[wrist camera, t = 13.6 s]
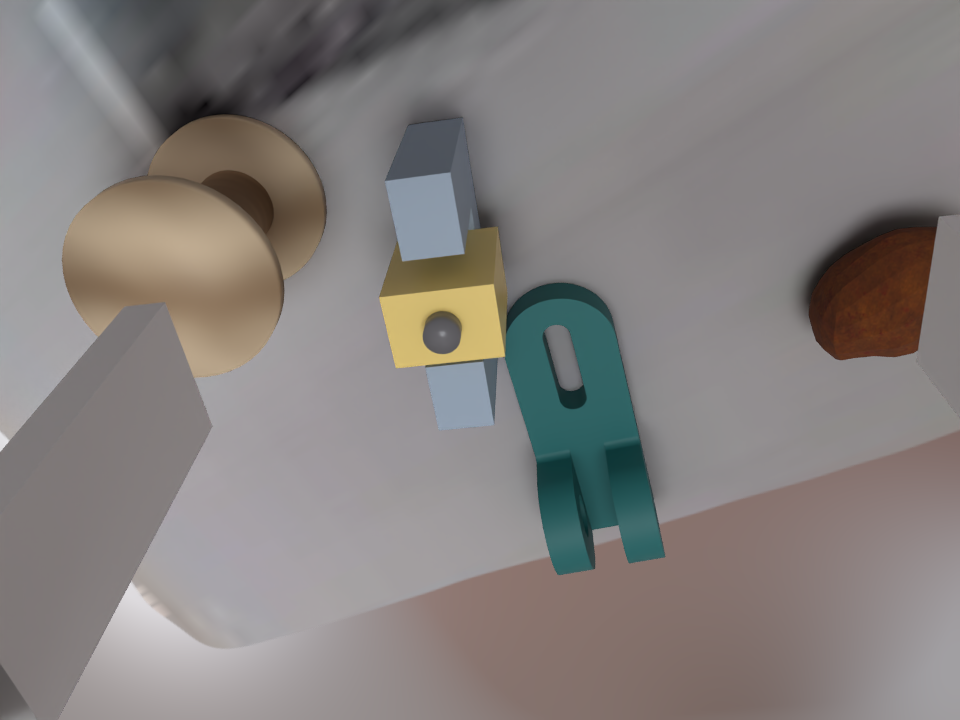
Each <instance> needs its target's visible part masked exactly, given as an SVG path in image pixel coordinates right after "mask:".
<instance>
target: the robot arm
mask: <svg viewBox="0 0 960 720" xmlns="http://www.w3.org/2000/svg"><path fill="white" fill-rule="evenodd" d="M916 362H917V363H918V364H919V365H920V367H921V368H922V369H923V371H924V372H925V373H926V375H927V376H928V377H929V379H930V380H931V381H932V382H933V384H934V385H935V386H936V388H937V389H938V390H939V392H940V393H941V394H942V396H943V397H944V398H945V399H946V401H947V402H948V403H949V405H950V406H951V407H952V409H953V410H954V411H955V413H956V414H957V415H958V416H959V418H960V214H958V215H949V216H940V217H939V219H938V225H937V231H936V238H935V244H934V251H933V257H932V263H931V270H930V276H929V283H928V289H927V295H926V302H925V308H924V315H923V321H922V327H921V334H920V340H919V347H918V353H917V359H916ZM211 428H212V424H211V421H210V419H209V416H208V413H207V411H206V408H205V406H204V403H203V400H202V398H201V395H200V392H199V390H198V387H197V385H196V382H195V379H194V377H193V374H192V371H191V369H190V366H189V364H188V361H187V358H186V356H185V353H184V350H183V348H182V345H181V343H180V340H179V337H178V335H177V332H176V329H175V327H174V324H173V322H172V319H171V316H170V314H169V311H168V308H167V306H166V303H165V302H161V303H152V304H143V305H134V306H125V307H124V308H123V309H122V310H121V311H120V312H119V314H118V315H117V316H116V317H115V318H114V319H113V321H112V322H111V323H110V324H109V325H108V326H107V328H106V329H105V330H104V331H103V332H102V333H101V335H100V336H99V337H98V338H97V339H96V341H95V342H94V343H93V344H92V345H91V346H90V348H89V349H88V350H87V351H86V352H85V353H84V355H83V356H82V357H81V358H80V359H79V360H78V362H77V363H76V364H75V365H74V366H73V367H72V369H71V370H70V371H69V372H68V373H67V375H66V376H65V377H64V378H63V379H62V380H61V382H60V383H59V384H58V385H57V386H56V387H55V389H54V390H53V391H52V392H51V393H50V394H49V396H48V397H47V398H46V399H45V400H44V401H43V403H42V404H41V405H40V406H39V407H38V408H37V410H36V411H35V412H34V413H33V414H32V416H31V417H30V418H29V419H28V420H27V421H26V423H25V424H24V425H23V426H22V427H21V428H20V430H19V431H18V432H17V433H16V434H15V435H14V437H13V438H12V439H11V440H10V441H9V443H8V444H7V445H6V446H5V447H4V448H3V450H2V451H1V452H0V720H58V718H59V717H60V715H61V713H62V711H63V709H64V707H65V705H66V703H67V702H68V699H69V698H70V696H71V694H72V692H73V690H74V688H75V686H76V684H77V682H78V680H79V679H80V677H81V675H82V673H83V671H84V669H85V667H86V665H87V664H88V662H89V660H90V658H91V656H92V654H93V652H94V650H95V648H96V646H97V645H98V643H99V641H100V639H101V637H102V635H103V633H104V631H105V629H106V627H107V626H108V624H109V622H110V620H111V618H112V616H113V614H114V612H115V610H116V609H117V607H118V605H119V603H120V601H121V599H122V597H123V595H124V593H125V591H126V590H127V588H128V586H129V584H130V582H131V580H132V578H133V576H134V574H135V572H136V571H137V569H138V567H139V565H140V563H141V561H142V559H143V557H144V555H145V554H146V552H147V550H148V548H149V546H150V544H151V542H152V540H153V538H154V536H155V535H156V533H157V531H158V529H159V527H160V525H161V523H162V521H163V519H164V517H165V516H166V514H167V512H168V510H169V508H170V506H171V504H172V502H173V500H174V499H175V497H176V495H177V493H178V491H179V489H180V487H181V485H182V483H183V481H184V480H185V478H186V476H187V474H188V472H189V470H190V468H191V466H192V464H193V462H194V461H195V459H196V457H197V455H198V453H199V451H200V449H201V447H202V445H203V443H204V442H205V440H206V438H207V436H208V434H209V432H210V430H211Z"/></svg>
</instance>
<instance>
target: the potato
mask: <svg viewBox="0 0 960 720" xmlns="http://www.w3.org/2000/svg"><path fill="white" fill-rule="evenodd" d="M936 231H937V227H912V228H903V229H896V230H893V231H891V232H888V233H886V234H883V235H880V236H878V237H876V238H874V239H872V240H870V241H868V242H867V243H865V244H863V245H861V246H859V247H858V248H856V249H854V250H852V251H851V252H849V253H847V254H845V255H844V256H843V257H841V258H840V259H839V260H838V261H836V262H835V263H834V264H833V265H831V266H830V268H829V269H828V270H827V271H826V273H825V274H824V275H823V276H822V278H821V279H820V281H819V282H818V284H817V286H816V287H815V289H814V291H813V292H812V297H811V302H810V306H809V318H810V322H811V326H812V329H813V333H814V336H815V339H816V341H817V342H818V343H819V344H820V346H821V347H822V348H823V349H824V350H825V351H826V352H828V353H829V354H830V355H831V356H833V357H834V358H835V359H838V360H846V359H852V358H858V357H868V356H884V357H897V356H902V355H907V354H911V353H914V352H916V351H918V347H919V340H920V334H921V327H922V321H923V315H924V308H925V302H926V295H927V289H928V283H929V276H930V270H931V263H932V257H933V251H934V244H935V238H936Z"/></svg>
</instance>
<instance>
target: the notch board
mask: <svg viewBox="0 0 960 720" xmlns="http://www.w3.org/2000/svg"><path fill="white" fill-rule="evenodd" d="M385 184H386V188H387V193H388V198H389V202H390V207H391V212H392V216H393V221H394V225H395V230H396V235H397V239H398V244H399V248H400V253H401V258H402V261H410V260H418V259H427V258H435V257H443V256H451V255H460V254H465V247H466V240H467V233H468V230H474V229H480V222H479V216H478V210H477V204H476V197H475V191H474V185H473V179H472V172H471V166H470V160H469V154H468V147H467V141H466V135H465V129H464V123H463V117H462V118H455V119H448V120H441V121H434V122H427V123H420V124H412V125H408V127H407V129H406V132H405V134H404V137H403V139H402V141H401V144H400V146H399V148H398V151H397V153H396V156H395V158H394V160H393V163H392V165H391V168H390V170H389V172H388V175H387V177H386V180H385ZM497 359H498V358H489V359H479V360H470V361H460V362H451V363H441V364H432V365H426V367H425V368H426V373H427V378H428V382H429V387H430V391H431V396H432V401H433V405H434V410H435V415H436V419H437V424H438V428H439V430H448V429H458V428H469V427H479V426H489V425H494V419H495V399H496V379H497Z"/></svg>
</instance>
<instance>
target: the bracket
mask: <svg viewBox="0 0 960 720" xmlns="http://www.w3.org/2000/svg"><path fill="white" fill-rule="evenodd" d="M552 325H562V326H564V327H566V328H567V329H568V330H569V332H570V334H571V338H572V342H573V345H574V349H575V353H576V357H577V361H578V365H579V369H580V372H581V376H582V380H583V386H582V387H581V388H580V389H578V390H576V391H567V390H564V389H563V388H561V387H560V385H559V383H558V379H557V375H556V372H555V368H554V365H553V361H552V358H551V354H550V350H549V347H548V343H547V340H546V336H545V332H544V331H545V330H546V329H547V328H548V327H549V326H552ZM505 360H506V364H507V367H508V370H509V373H510V376H511V380H512V383H513V386H514V389H515V392H516V396H517V399H518V402H519V405H520V408H521V412H522V415H523V418H524V421H525V424H526V428H527V431H528V434H529V437H530V441H531V444H532V447H533V450H534V453H535V457H536V461H537V487H538V498H539V506H540V513H541V519H542V524H543V529H544V534H545V538H546V543H547V547H548V550H549V554H550V557H551V560H552V563H553V566H554V568H555V571H556V572H557V574H558V575H563V574H569V573H574V572H581V571H587V570H592V569H595V553H594V543H593V533H592V530H594V529H599V528H605V527H611V526H616V525H619V529H620V533H621V538H622V542H623V545H624V549H625V553H626V556H627V560H628V562H629V563H634V562H640V561H646V560H652V559H658V558H663V557H665V553H664V548H663V542H662V538H661V533H660V528H659V523H658V518H657V513H656V508H655V503H654V498H653V494H652V489H651V485H650V481H649V476H648V472H647V468H646V463H645V459H644V455H643V450H642V446H641V441H640V437H639V433H638V428H637V424H636V420H635V415H634V411H633V406H632V402H631V398H630V393H629V389H628V385H627V380H626V376H625V371H624V367H623V363H622V358H621V354H620V350H619V345H618V341H617V337H616V332H615V328H614V323H613V319H612V316H611V313H610V311H609V309H608V307H607V306H606V304H605V303H604V302H603V301H602V300H601V299H600V298H599V297H598V296H597V295H596V294H594V293H593V292H591V291H590V290H588V289H586V288H584V287H581V286H578V285H574V284H568V283H553V284H547V285H543V286H540V287H537V288H535V289H533V290H531V291H529V292H527V293H526V294H524V295H523V296H522V297H521V298H520V299H518V300H517V302H516V303H515V304H514V305H513V307H512V308H511V310H510V312H509V313H508V316H507V318H506V346H505Z"/></svg>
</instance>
